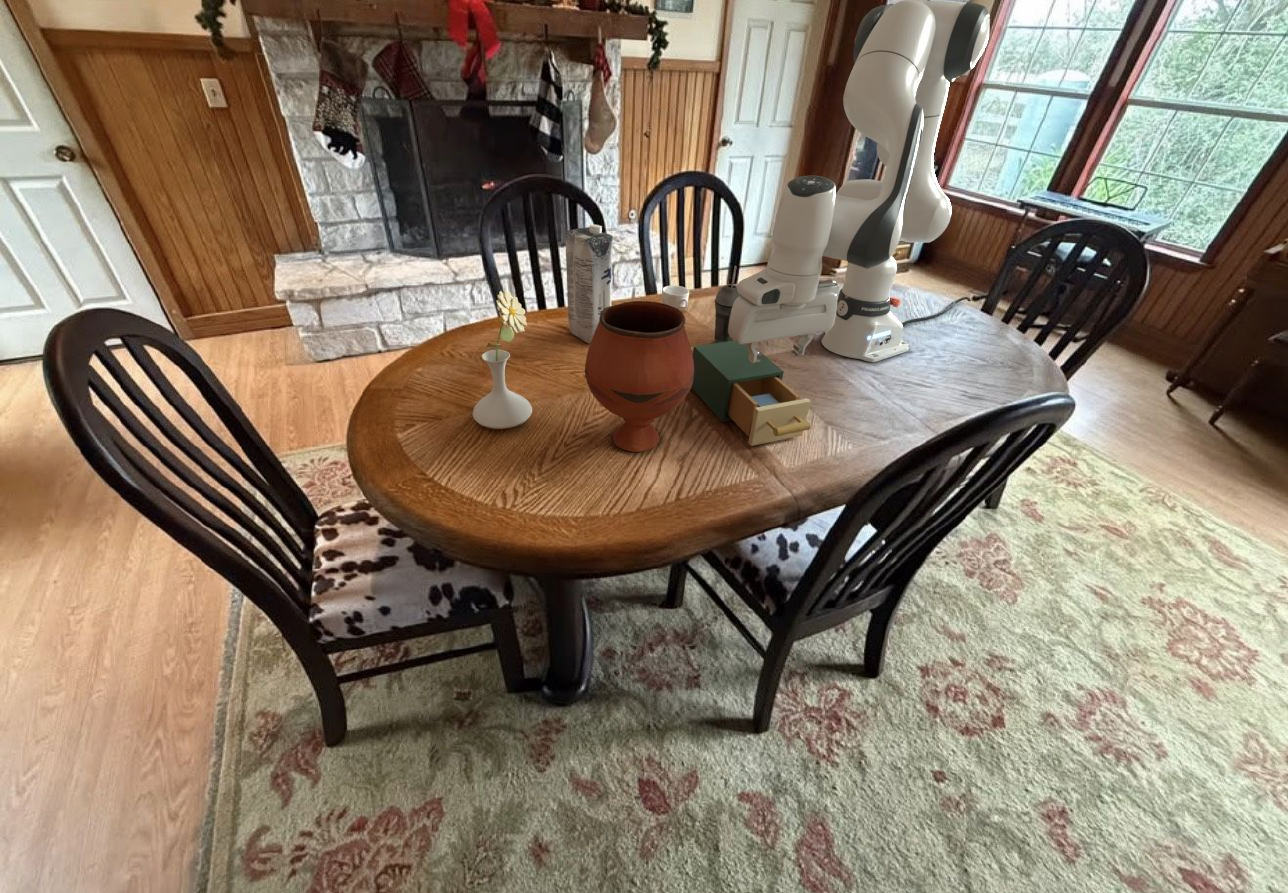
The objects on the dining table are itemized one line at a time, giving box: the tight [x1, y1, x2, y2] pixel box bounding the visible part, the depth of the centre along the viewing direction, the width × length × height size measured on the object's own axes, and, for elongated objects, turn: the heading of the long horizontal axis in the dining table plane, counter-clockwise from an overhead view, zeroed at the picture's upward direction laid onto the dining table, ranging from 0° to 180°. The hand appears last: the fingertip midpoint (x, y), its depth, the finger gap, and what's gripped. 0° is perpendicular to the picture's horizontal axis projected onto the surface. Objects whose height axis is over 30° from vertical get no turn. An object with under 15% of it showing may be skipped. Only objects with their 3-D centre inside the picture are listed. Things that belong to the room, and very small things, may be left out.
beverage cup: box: [714, 265, 740, 343], centre depth 134 cm, size 7×7×20 cm
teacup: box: [661, 285, 690, 311], centre depth 157 cm, size 10×8×5 cm
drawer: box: [727, 376, 812, 447], centre depth 107 cm, size 18×11×8 cm, turn 22°
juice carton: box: [564, 224, 614, 345], centre depth 134 cm, size 9×10×27 cm
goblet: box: [584, 300, 694, 453], centre depth 98 cm, size 19×19×25 cm
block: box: [751, 394, 779, 407], centre depth 107 cm, size 4×4×4 cm
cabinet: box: [691, 341, 785, 423], centre depth 116 cm, size 16×13×10 cm
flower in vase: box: [472, 290, 533, 430], centre depth 102 cm, size 13×11×25 cm
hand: (776, 357), depth 101 cm, fingers open, 8 cm apart
